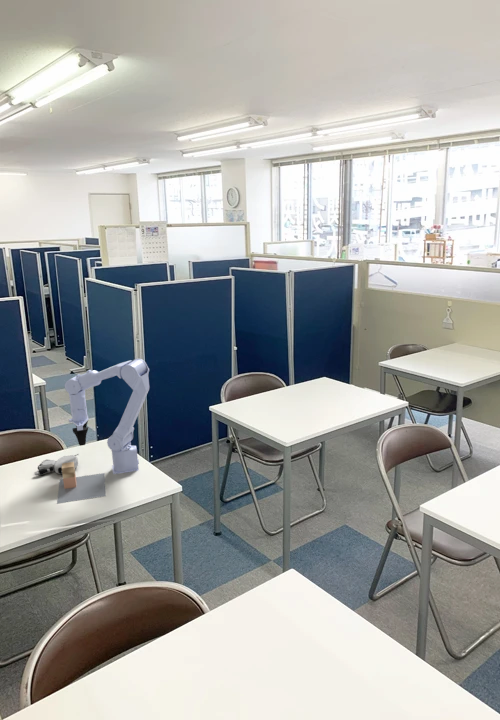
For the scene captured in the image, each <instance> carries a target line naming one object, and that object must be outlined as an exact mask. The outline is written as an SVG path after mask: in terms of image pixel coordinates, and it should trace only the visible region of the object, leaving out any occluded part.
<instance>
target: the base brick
mask: <svg viewBox="0 0 500 720" xmlns="http://www.w3.org/2000/svg"><path fill="white" fill-rule="evenodd" d="M76 477H77V474H76V473H75V477H71V478H64V479H63V478H62V479H63V481H64V489H67V488H73V487H76Z"/></svg>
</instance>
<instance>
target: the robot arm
mask: <svg viewBox="0 0 500 720" xmlns="http://www.w3.org/2000/svg"><path fill="white" fill-rule="evenodd" d="M149 372H150V368H149V366H148V364H147V362H146V361H145V360H144V359H142V358H135V359H133V360H131V359H130V360H127V361H123V362H120V363H117V364H115V365H113V366H110V367H108V368H105V369H103V370H101V371H98V370H95V369H94V370H92V369H88V370H86V372H85V373H81V374H80V373H79V374H76V375H75V376H74V377H72V378H69V379H68V380H66V381H65V383H64V389H65V391H66V392H67V393H68V397H69V398H68V399H69V404H70V405H69V406H70V413H71V418H69V419H68V422H69V423H72V424H74V425H75V427H73V428H72V432H73V434H74V435H75V437H76V439H77V442H78V445H79V446H80V447H81V446H85V445H86V440H87V434H88V430H89V427H88V422H89V416H88V409H87V399H86V390H88V389H90V388H94V387H96V386H99V385H100V384H102V381H103V380H107V379H110V378H113V377H115V376H117V377H118V378H119V379H122V380H123V381H124V382H125V383H126V384H127V385H128V387H130V388H131V390H132V393H131V395H130V397H129V399H128V402H127V405H126V407H125V409H124V412H123V414H122V416H121V418H120V421H119V423H118V425H117V427H116V428H115V430H114V431H113V433H112V435H110V436H109V437H108V438H107V440H106V441H107V442H106V443H107V447H108V448H109V449H110V450H111V451H110V452H111V456H112V465H111V467H112V468H111V469H112V475H119V474H124V473H129V472H137V471H138V472H139V471H140V470H139V469H140V467H139V464H140V462H139V459H138V449H137V445H132V442H131V441H132V440H133V439H134V430H135V427H134V425H135V424H136V420H137V418H138V416H139V414H140V411H141V409H142V407H143V405H144V403H145V400H146V398H147V395H148V393H149V391H150V379H149Z"/></svg>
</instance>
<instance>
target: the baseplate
mask: <svg viewBox="0 0 500 720" xmlns="http://www.w3.org/2000/svg"><path fill="white" fill-rule="evenodd" d="M57 492H58V493H57V499H56V504H57V505H58V504H65V503H70V502H77V501H82V500H83V501H84V500H89V499H96V498H102V497H107V494H106V493H107V491H106V473H105V472H102V473H96V474H89V475H81V476H76V487H73V488H67V489H64V481H63V478H61V479H59V483H58V491H57Z"/></svg>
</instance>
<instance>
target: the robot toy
mask: <svg viewBox="0 0 500 720" xmlns="http://www.w3.org/2000/svg"><path fill="white" fill-rule="evenodd" d="M79 455H80V453H77V454H71V455H64V456H61V457H59V458H58V459H57V460H54V459H45V460H43V461H41V463H39V465H37V470H38V471H35V472H34V475H35V476H38V475H39V476H42V475H45V474H47V473H54V472H55V473H56V474H59V475H60V474H62V463H69V462H74V467H75V469H76V468H77V467H78V466H79V460H78V459H79V458H78V457H77V456H79ZM62 475H63V474H62Z"/></svg>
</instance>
